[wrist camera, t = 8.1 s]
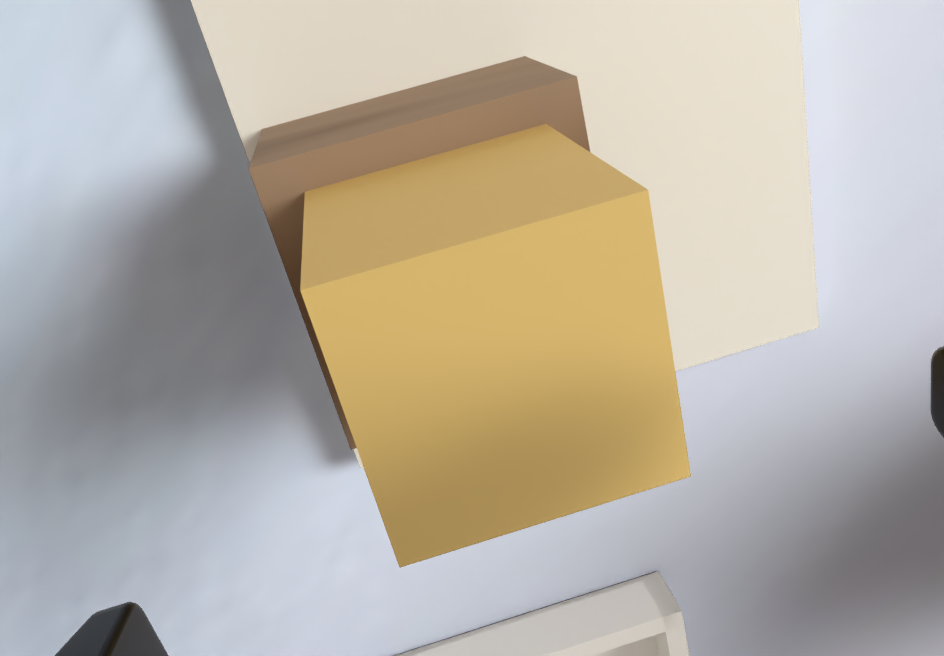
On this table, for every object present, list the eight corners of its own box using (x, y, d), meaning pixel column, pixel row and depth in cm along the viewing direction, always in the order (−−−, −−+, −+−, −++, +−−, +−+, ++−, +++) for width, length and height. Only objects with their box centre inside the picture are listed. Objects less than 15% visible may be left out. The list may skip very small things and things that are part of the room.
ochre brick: (588, 340, 17) (691, 476, 12) (376, 403, 16) (399, 567, 12) (546, 123, 15) (648, 190, 10) (305, 192, 14) (299, 290, 10)
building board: (803, 316, 23) (819, 327, 22) (358, 451, 22) (360, 467, 22) (757, -330, 17) (777, -344, 16) (133, -173, 16) (125, -180, 15)
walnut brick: (573, 296, 21) (628, 365, 17) (344, 365, 20) (351, 449, 17) (525, 56, 18) (576, 76, 15) (261, 128, 18) (248, 168, 14)
